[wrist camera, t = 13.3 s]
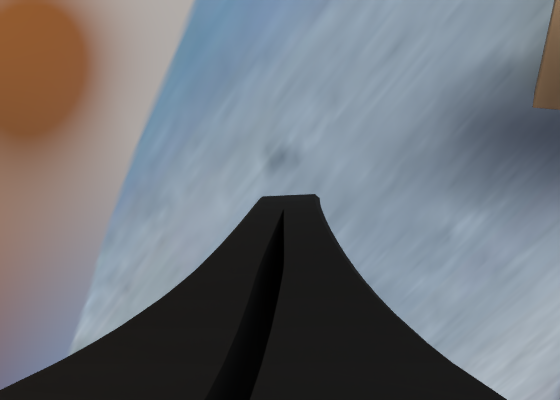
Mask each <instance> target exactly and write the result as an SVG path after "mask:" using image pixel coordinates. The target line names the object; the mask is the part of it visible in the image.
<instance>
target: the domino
mask: <svg viewBox="0 0 560 400" xmlns="http://www.w3.org/2000/svg"><path fill="white" fill-rule="evenodd" d="M533 107H534V108H546V109H559V110H560V0H554V5H553V9H552V14H551V18H550V23H549V28H548V32H547V37H546V41H545V46H544V51H543V55H542V60H541V65H540V69H539V74H538V78H537V83H536V88H535V93H534V101H533Z"/></svg>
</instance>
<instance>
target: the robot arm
mask: <svg viewBox="0 0 560 400" xmlns="http://www.w3.org/2000/svg"><path fill="white" fill-rule="evenodd" d="M0 400H507V399H505V398H504V397H502V396H501V395H499V394H498V393H496V392H495V391H493V390H492V389H491V388H489V387H488V386H486V385H485V384H483V383H482V382H480V381H479V380H477V379H476V378H474V377H473V376H471V375H470V374H468V373H467V372H465V371H464V370H462V369H461V368H459V367H458V366H456V365H455V364H453V363H452V362H451V361H449V360H448V359H447V358H446V357H444V356H443V355H442V354H441V353H439V352H438V351H437V350H436V349H434V348H433V347H432V346H430V345H429V344H428V343H427V342H426V341H425V340H424V339H422V338H421V337H420V336H419V335H418V334H417V333H416V332H415V331H414V330H412V329H411V328H410V327H409V326H408V325H407V324H406V323H405V322H404V321H403V320H401V319H400V318H399V317H398V316H397V315H396V314H395V313H394V312H393V311H392V310H391V309H390V308H389V307H388V306H387V305H386V304H385V303H384V302H383V301H382V300H381V299H380V298H379V296H378V295H377V294H376V293H375V292H374V291H373V290H372V288H371V287H370V286H369V285H368V284H367V283H366V281H365V280H364V279H363V278H362V276H361V275H360V274H359V273H358V271H357V270H356V269H355V267H354V266H353V264H352V263H351V262H350V260H349V259H348V257H347V256H346V254H345V253H344V251H343V250H342V248H341V247H340V245H339V243H338V242H337V240H336V238H335V236H334V235H333V233H332V231H331V229H330V227H329V225H328V223H327V221H326V219H325V216H324V214H323V211H322V209H321V205H320V198H319V197H317V196H316V195H315V194H307V195H285V196H264V197H261V198H260V199H259V200H258V202H257V203H256V204H255V205H254V206H253V207H252V209H251V210H250V211H249V212H248V214H247V215H246V216H245V217H244V219H243V220H242V221H241V222H240V223H239V224H238V226H237V227H236V228H235V229H234V230H233V231H232V233H231V234H230V235H229V236H228V237H227V238H226V239H225V240H224V242H223V243H222V244H221V245H220V246H219V247H218V248H217V249H216V250H215V251H214V252H213V253H212V254H211V255H210V256H209V257H208V258H207V259H206V260H205V261H204V262H203V263H202V264H201V265H200V266H199V267H198V268H197V269H196V270H195V271H194V272H193V273H191V274H190V275H189V276H188V277H187V278H186V279H185V280H183V281H182V282H181V283H180V284H178V285H177V286H176V287H175V288H173V289H172V290H171V291H170V292H168V293H167V294H166V295H165V296H163V297H162V298H161V299H159V300H158V301H157V302H155V303H154V304H152V305H151V306H149V307H148V308H146V309H145V310H143V311H142V312H141V313H139V314H138V315H136V316H135V317H133V318H132V319H130V320H129V321H127V322H126V323H125V324H123V325H122V326H120V327H118V328H117V329H115V330H114V331H112V332H110V333H109V334H107V335H105V336H104V337H102V338H100V339H99V340H97V341H95V342H93V343H92V344H90V345H88V346H86V347H85V348H83V349H81V350H79V351H77V352H76V353H74V354H72V355H70V356H68V357H66V358H65V359H63V360H61V361H59V362H57V363H55V364H53V365H51V366H49V367H47V368H45V369H43V370H41V371H39V372H37V373H34V374H33V375H30V376H29V377H26V378H24V379H22V380H20V381H18V382H16V383H14V384H12V385H10V386H8V387H6V388H4V389H2V390H0Z"/></svg>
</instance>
